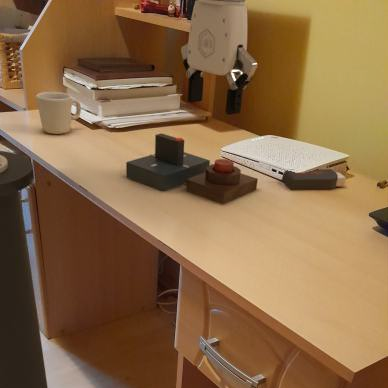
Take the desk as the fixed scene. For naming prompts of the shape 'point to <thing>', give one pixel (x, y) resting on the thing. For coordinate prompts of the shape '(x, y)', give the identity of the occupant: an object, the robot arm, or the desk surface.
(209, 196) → the button block
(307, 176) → the usb drive
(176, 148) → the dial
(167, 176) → the panel
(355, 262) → the desk surface
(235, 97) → the robot arm
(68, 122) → the cup
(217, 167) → the button
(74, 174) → the desk surface
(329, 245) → the desk surface
